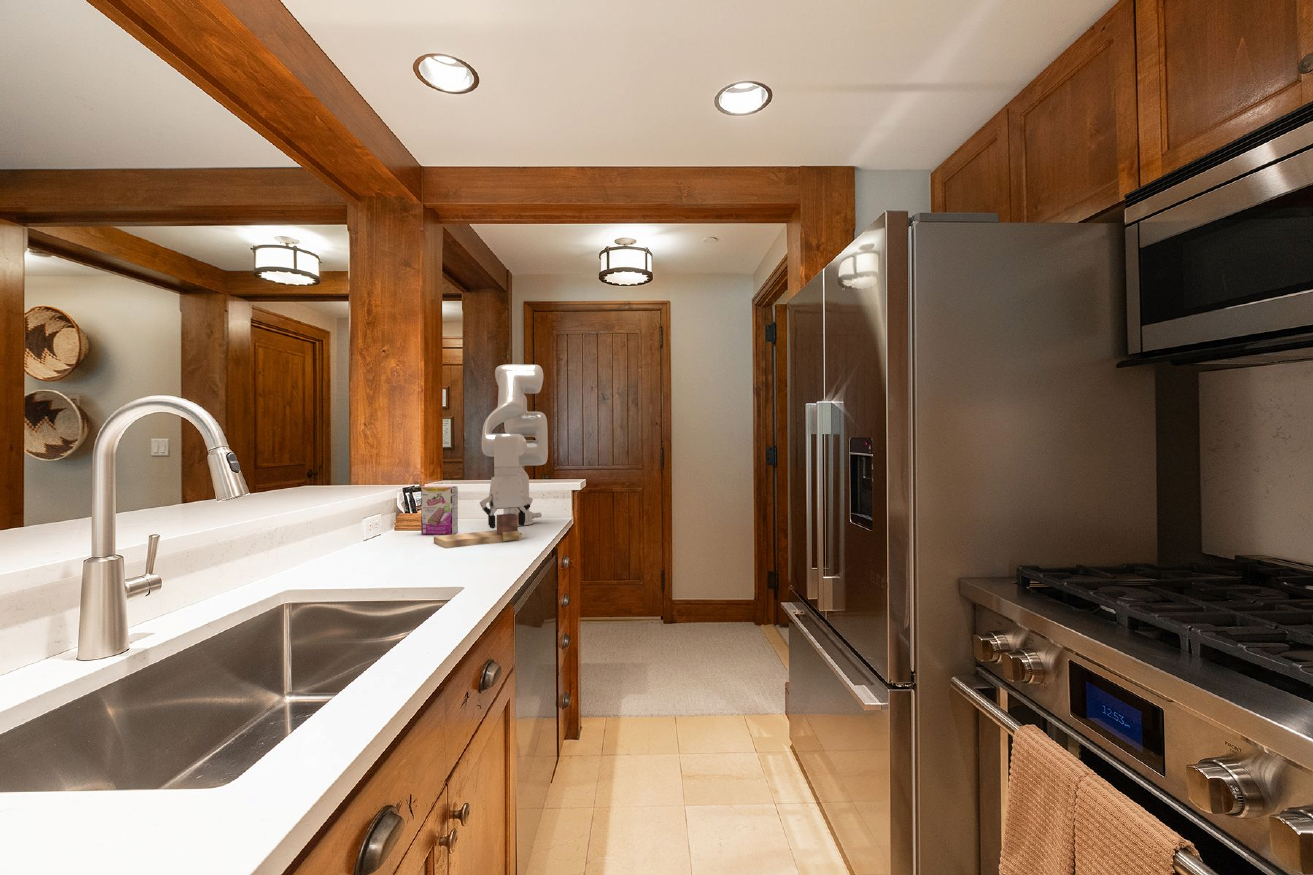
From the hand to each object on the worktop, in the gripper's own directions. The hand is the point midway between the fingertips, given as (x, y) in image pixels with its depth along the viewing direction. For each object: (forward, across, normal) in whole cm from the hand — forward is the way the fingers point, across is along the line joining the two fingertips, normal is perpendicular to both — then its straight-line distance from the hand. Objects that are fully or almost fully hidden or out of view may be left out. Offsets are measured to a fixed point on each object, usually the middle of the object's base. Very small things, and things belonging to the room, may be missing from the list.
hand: (507, 526), depth 194 cm
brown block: (+4, 0, 0) cm, 4 cm away
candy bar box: (+4, +13, -27) cm, 31 cm away
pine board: (+4, +8, -4) cm, 10 cm away
